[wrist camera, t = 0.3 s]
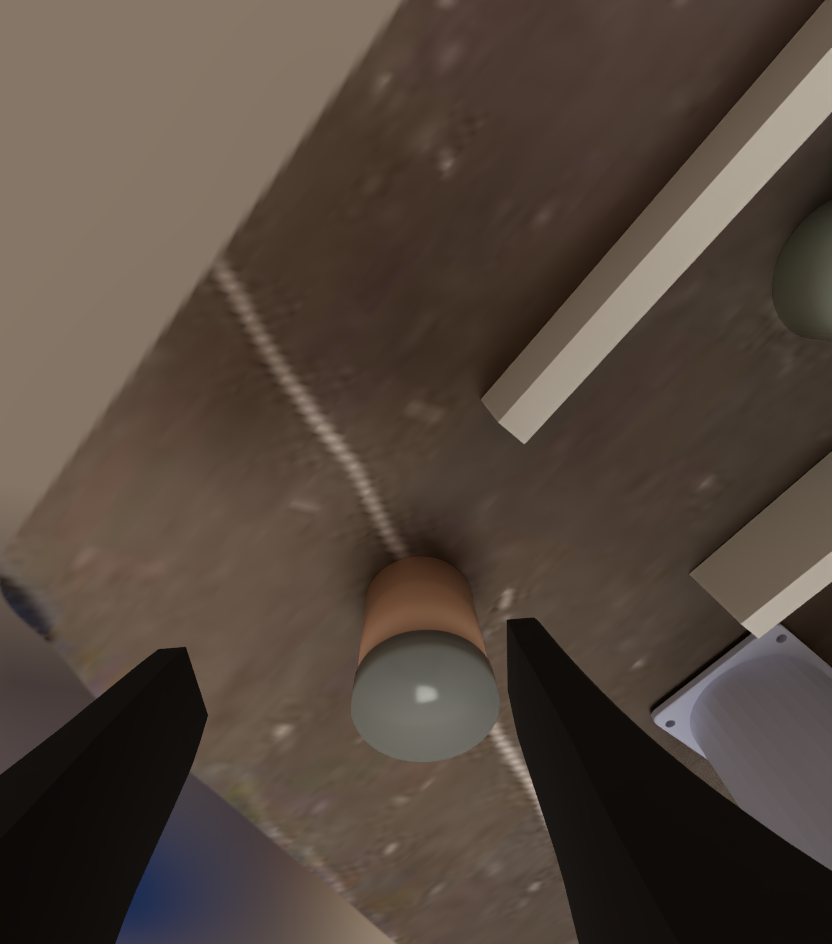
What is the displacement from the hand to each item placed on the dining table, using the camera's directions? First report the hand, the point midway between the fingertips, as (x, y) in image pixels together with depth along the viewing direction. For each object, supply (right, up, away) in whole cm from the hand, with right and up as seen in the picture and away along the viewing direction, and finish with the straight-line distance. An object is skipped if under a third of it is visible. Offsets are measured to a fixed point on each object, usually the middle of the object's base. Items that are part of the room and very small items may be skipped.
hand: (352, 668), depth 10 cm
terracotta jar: (+2, -2, +11) cm, 12 cm away
